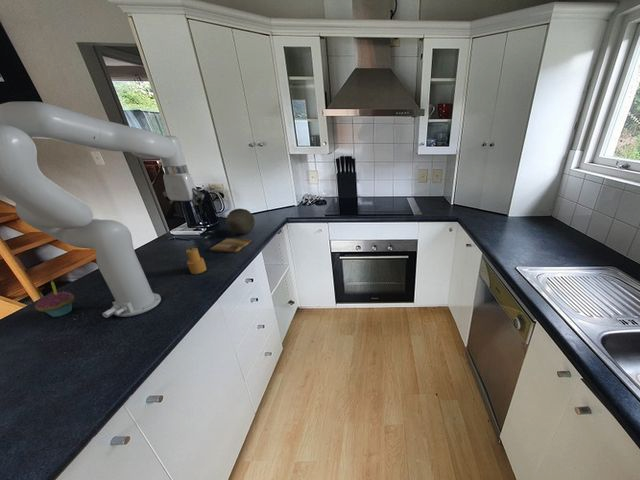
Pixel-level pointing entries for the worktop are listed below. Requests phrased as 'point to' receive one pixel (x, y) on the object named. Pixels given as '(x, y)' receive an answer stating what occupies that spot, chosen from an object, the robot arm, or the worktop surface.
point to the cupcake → (55, 303)
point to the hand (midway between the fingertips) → (189, 213)
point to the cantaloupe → (240, 221)
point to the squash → (195, 261)
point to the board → (230, 245)
